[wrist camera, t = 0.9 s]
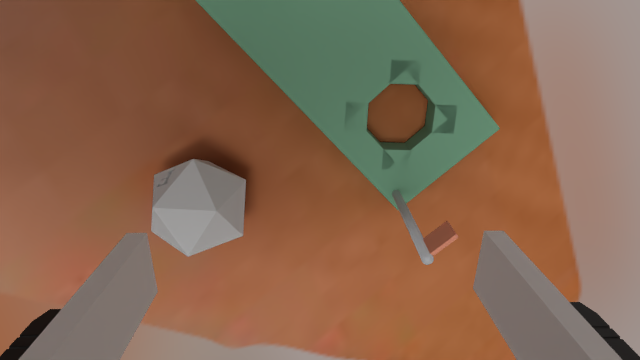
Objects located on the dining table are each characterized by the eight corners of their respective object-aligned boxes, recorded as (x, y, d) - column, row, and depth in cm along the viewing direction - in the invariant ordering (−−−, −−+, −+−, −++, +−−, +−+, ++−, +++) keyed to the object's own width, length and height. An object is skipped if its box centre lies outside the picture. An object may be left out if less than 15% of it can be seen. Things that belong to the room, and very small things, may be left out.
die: (258, 150, 39) (178, 140, 31) (276, 238, 38) (197, 252, 29) (199, 173, 43) (114, 169, 35) (214, 252, 42) (128, 269, 33)
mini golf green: (165, -38, 33) (66, -80, 20) (265, -160, 30) (226, -306, 17) (393, 199, 41) (429, 281, 28) (488, 122, 38) (579, 172, 25)
